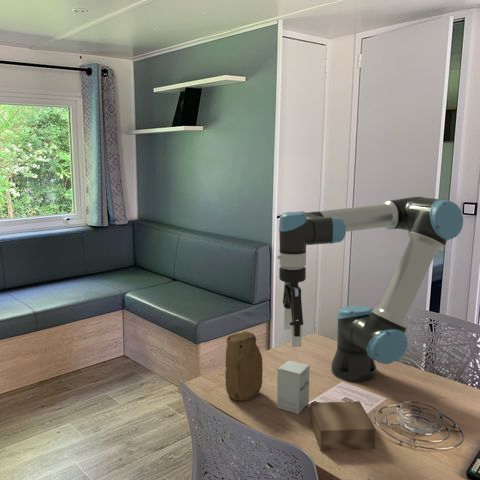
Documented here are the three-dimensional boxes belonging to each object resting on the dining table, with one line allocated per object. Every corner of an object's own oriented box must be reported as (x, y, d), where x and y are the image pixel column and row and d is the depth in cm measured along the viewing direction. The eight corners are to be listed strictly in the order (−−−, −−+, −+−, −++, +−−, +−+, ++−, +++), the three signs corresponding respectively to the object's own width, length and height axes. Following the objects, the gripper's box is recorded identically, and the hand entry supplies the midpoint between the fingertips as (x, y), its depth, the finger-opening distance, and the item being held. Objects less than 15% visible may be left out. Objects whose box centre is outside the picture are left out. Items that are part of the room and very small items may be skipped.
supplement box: (299, 414, 141) (299, 374, 139) (276, 408, 145) (276, 368, 143) (309, 403, 147) (310, 364, 145) (287, 397, 151) (288, 359, 149)
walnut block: (358, 420, 139) (359, 401, 137) (374, 450, 125) (375, 428, 124) (309, 422, 138) (310, 402, 137) (320, 452, 124) (321, 430, 123)
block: (235, 404, 147) (235, 341, 144) (223, 394, 154) (222, 334, 150) (265, 395, 153) (265, 334, 149) (252, 385, 159) (252, 327, 155)
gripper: (273, 257, 151) (273, 323, 155) (286, 278, 126) (286, 355, 130) (297, 257, 151) (297, 322, 155) (314, 277, 127) (313, 354, 131)
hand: (292, 337), depth 143 cm, fingers open, 13 cm apart
